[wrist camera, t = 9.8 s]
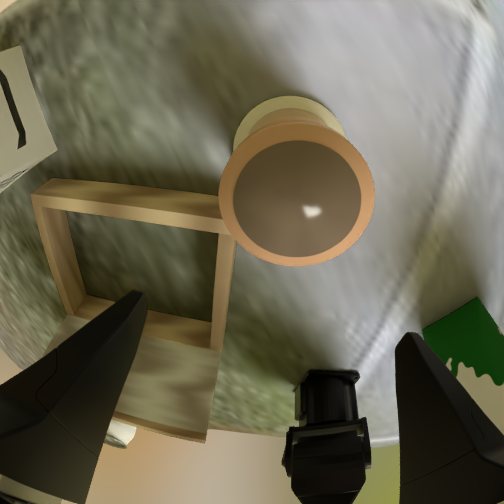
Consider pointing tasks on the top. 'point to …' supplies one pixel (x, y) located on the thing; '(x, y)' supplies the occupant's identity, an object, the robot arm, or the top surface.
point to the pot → (296, 190)
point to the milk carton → (473, 355)
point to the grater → (3, 127)
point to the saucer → (280, 104)
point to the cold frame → (157, 324)
